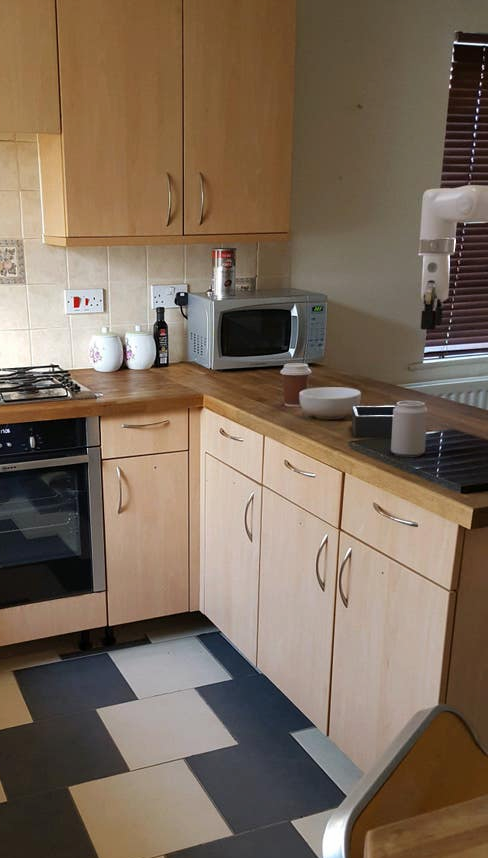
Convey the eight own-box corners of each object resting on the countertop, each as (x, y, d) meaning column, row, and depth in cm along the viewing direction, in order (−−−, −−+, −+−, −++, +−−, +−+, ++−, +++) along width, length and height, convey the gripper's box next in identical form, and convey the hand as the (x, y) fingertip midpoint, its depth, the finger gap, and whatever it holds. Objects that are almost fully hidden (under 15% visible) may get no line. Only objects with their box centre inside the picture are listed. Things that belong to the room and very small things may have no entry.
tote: (404, 427, 228) (405, 405, 227) (410, 438, 216) (412, 415, 214) (351, 427, 230) (352, 406, 228) (354, 438, 218) (355, 416, 216)
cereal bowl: (287, 415, 249) (288, 390, 246) (338, 409, 254) (339, 385, 252) (319, 425, 234) (320, 399, 231) (372, 419, 239) (373, 393, 237)
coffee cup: (286, 401, 269) (287, 362, 265) (314, 403, 265) (316, 363, 261) (275, 406, 262) (275, 366, 258) (303, 408, 257) (304, 367, 253)
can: (384, 454, 200) (387, 402, 196) (402, 449, 205) (405, 398, 201) (412, 459, 195) (416, 406, 191) (431, 454, 200) (434, 401, 196)
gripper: (449, 248, 185) (443, 331, 191) (459, 247, 200) (452, 323, 206) (413, 249, 188) (408, 331, 194) (425, 247, 203) (420, 323, 209)
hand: (431, 327), depth 200 cm, fingers open, 9 cm apart
